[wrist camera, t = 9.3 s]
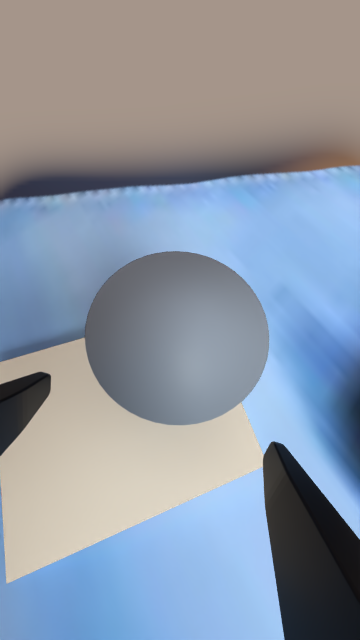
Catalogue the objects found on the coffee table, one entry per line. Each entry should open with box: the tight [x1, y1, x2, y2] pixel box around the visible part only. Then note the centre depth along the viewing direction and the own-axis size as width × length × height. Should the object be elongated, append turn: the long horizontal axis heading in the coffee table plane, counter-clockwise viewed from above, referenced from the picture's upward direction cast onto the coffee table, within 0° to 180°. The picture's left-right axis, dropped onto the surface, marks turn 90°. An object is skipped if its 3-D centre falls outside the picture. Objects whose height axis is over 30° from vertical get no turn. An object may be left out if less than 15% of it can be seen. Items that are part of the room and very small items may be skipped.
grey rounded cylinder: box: [85, 251, 269, 425], centre depth 13 cm, size 6×6×13 cm
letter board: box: [0, 338, 264, 583], centre depth 18 cm, size 18×14×1 cm
